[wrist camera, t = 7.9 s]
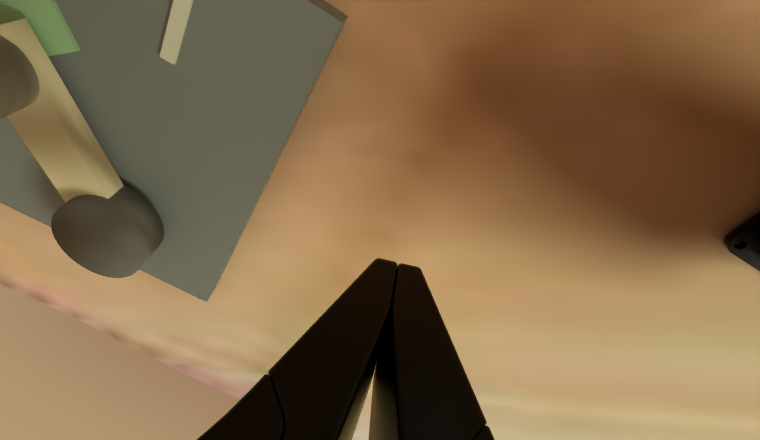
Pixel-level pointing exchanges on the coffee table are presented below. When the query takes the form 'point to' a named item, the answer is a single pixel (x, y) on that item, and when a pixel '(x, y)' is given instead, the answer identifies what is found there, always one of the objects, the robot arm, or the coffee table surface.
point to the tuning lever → (73, 163)
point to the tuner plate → (177, 110)
